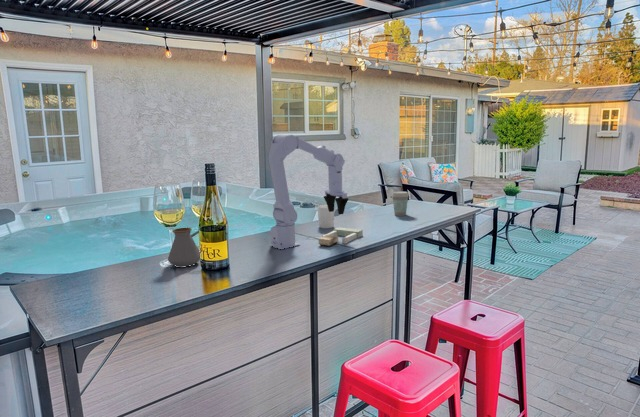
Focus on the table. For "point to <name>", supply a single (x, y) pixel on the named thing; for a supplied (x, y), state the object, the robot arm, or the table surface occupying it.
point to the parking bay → (346, 233)
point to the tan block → (328, 240)
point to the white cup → (325, 217)
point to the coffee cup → (400, 202)
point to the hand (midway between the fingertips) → (336, 212)
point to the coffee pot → (184, 248)
